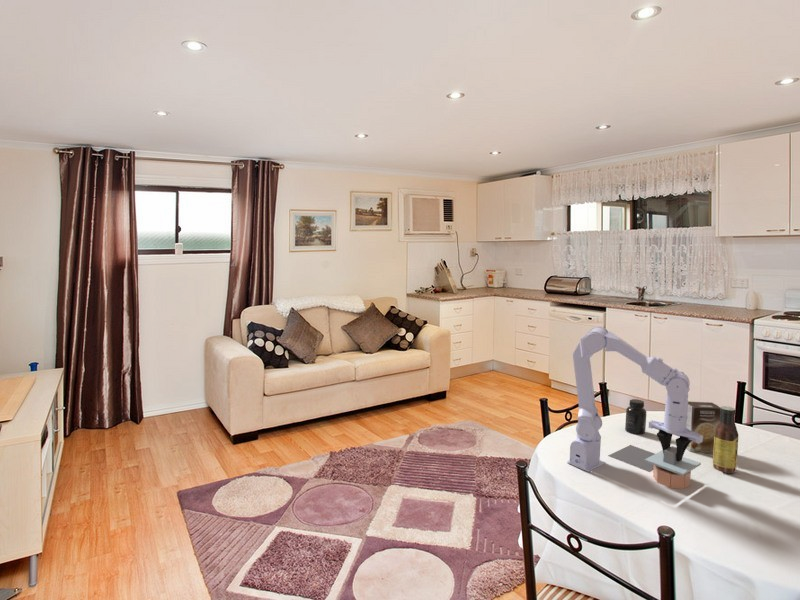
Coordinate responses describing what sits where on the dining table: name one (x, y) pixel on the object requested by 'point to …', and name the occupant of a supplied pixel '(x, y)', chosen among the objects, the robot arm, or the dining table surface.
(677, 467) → the cover
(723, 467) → the sauce bottle
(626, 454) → the mat
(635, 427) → the supplement bottle
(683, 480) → the bowl
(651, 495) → the dining table surface
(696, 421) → the coffee box
